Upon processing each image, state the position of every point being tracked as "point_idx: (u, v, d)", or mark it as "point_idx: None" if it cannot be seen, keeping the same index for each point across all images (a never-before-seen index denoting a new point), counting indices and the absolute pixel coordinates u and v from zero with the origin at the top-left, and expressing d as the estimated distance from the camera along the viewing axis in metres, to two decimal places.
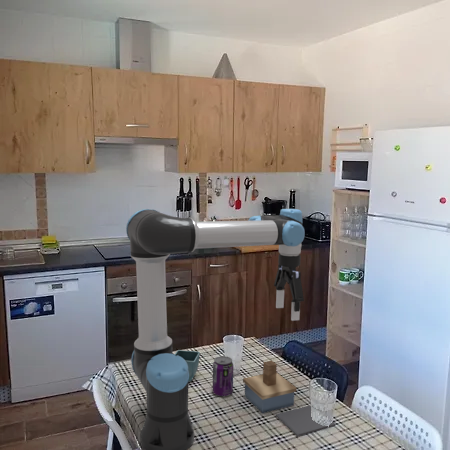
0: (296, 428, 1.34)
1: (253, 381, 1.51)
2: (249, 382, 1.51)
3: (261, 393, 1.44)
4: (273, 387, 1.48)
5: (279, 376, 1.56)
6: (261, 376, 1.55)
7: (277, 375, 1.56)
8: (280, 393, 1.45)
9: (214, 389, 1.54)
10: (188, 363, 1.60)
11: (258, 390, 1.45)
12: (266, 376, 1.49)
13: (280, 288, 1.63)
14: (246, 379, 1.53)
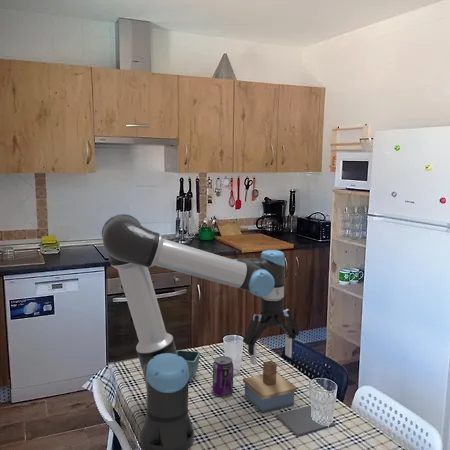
0: (296, 428, 1.34)
1: (253, 381, 1.51)
2: (249, 382, 1.51)
3: (261, 393, 1.44)
4: (273, 387, 1.48)
5: (279, 376, 1.56)
6: (261, 376, 1.55)
7: (277, 375, 1.56)
8: (280, 393, 1.45)
9: (214, 389, 1.54)
10: (188, 363, 1.60)
11: (258, 390, 1.45)
12: (266, 376, 1.49)
13: (289, 335, 1.52)
14: (246, 379, 1.53)
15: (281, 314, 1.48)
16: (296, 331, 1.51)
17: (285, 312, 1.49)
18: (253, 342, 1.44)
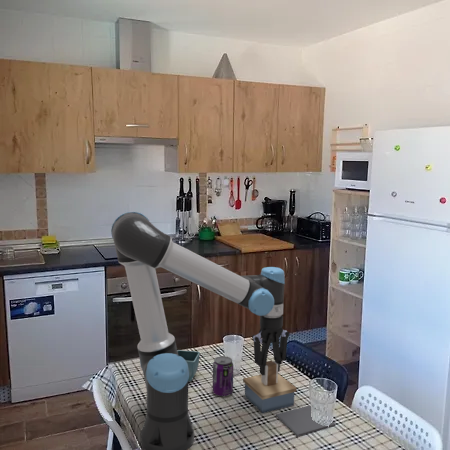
0: (296, 428, 1.34)
1: (253, 381, 1.51)
2: (249, 382, 1.51)
3: (261, 393, 1.44)
4: (273, 387, 1.48)
5: (279, 376, 1.56)
6: None
7: None
8: (280, 393, 1.45)
9: (214, 389, 1.54)
10: (188, 363, 1.60)
11: (258, 390, 1.45)
12: None
13: (276, 361, 1.50)
14: (246, 379, 1.53)
15: (280, 331, 1.49)
16: (284, 356, 1.50)
17: (284, 332, 1.50)
18: (264, 363, 1.47)
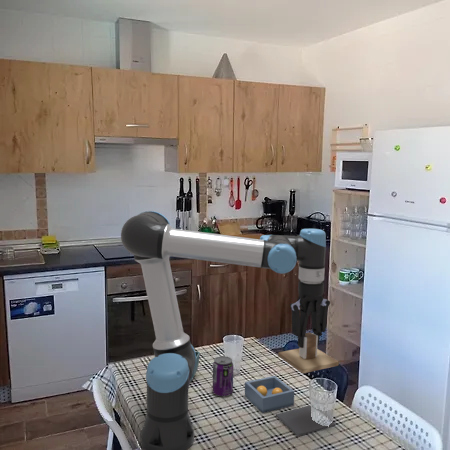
0: (296, 428, 1.34)
1: (290, 355, 1.38)
2: (286, 356, 1.37)
3: (301, 366, 1.30)
4: (313, 361, 1.34)
5: (317, 350, 1.42)
6: (298, 350, 1.42)
7: None
8: (321, 367, 1.31)
9: (214, 389, 1.54)
10: None
11: (297, 364, 1.32)
12: None
13: (315, 332, 1.37)
14: (282, 353, 1.39)
15: (320, 299, 1.35)
16: (324, 327, 1.37)
17: (324, 300, 1.36)
18: (303, 334, 1.34)
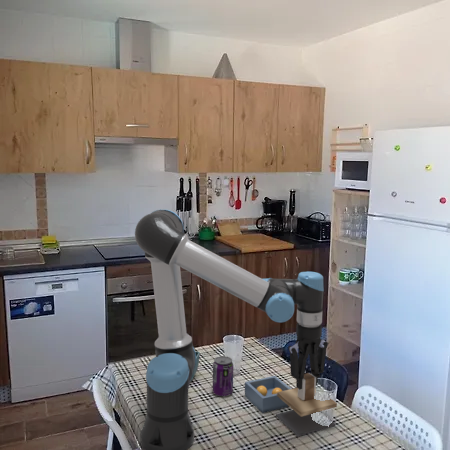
0: (296, 428, 1.34)
1: (288, 395, 1.40)
2: (284, 397, 1.39)
3: (299, 409, 1.32)
4: (312, 402, 1.36)
5: None
6: (296, 390, 1.43)
7: None
8: (320, 409, 1.33)
9: (214, 389, 1.54)
10: None
11: (295, 406, 1.34)
12: None
13: (313, 373, 1.39)
14: (281, 393, 1.41)
15: (318, 341, 1.37)
16: (322, 368, 1.38)
17: (322, 342, 1.38)
18: (301, 376, 1.35)
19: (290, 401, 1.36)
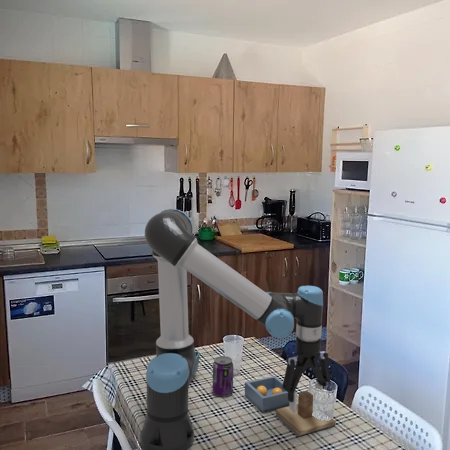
0: None
1: (287, 413, 1.40)
2: (283, 414, 1.40)
3: (298, 428, 1.32)
4: (310, 420, 1.37)
5: None
6: None
7: None
8: (318, 427, 1.34)
9: (214, 389, 1.54)
10: None
11: (294, 424, 1.34)
12: (302, 408, 1.38)
13: (320, 382, 1.40)
14: (279, 410, 1.42)
15: (318, 355, 1.37)
16: (328, 377, 1.40)
17: (321, 354, 1.39)
18: (293, 389, 1.35)
19: (289, 419, 1.37)
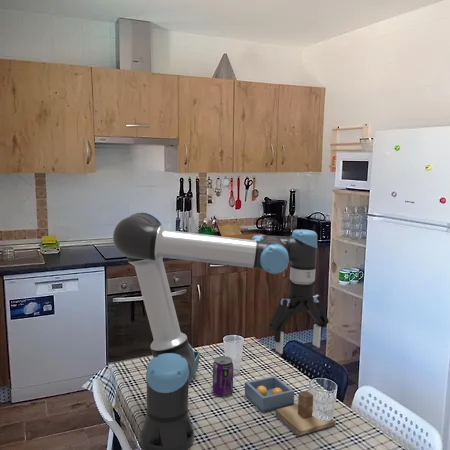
0: None
1: (287, 413, 1.40)
2: (283, 414, 1.40)
3: (298, 428, 1.32)
4: (310, 420, 1.37)
5: None
6: (295, 407, 1.44)
7: None
8: (318, 427, 1.34)
9: (214, 389, 1.54)
10: None
11: (294, 424, 1.34)
12: (302, 408, 1.38)
13: (318, 324, 1.40)
14: (279, 410, 1.42)
15: (311, 300, 1.36)
16: (326, 319, 1.40)
17: (315, 298, 1.38)
18: (280, 328, 1.33)
19: (289, 419, 1.37)
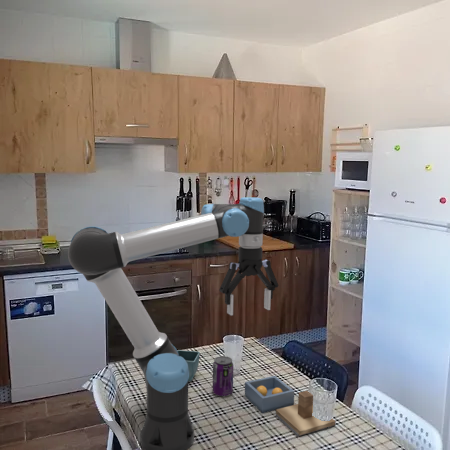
0: None
1: (287, 413, 1.40)
2: (283, 414, 1.40)
3: (298, 428, 1.32)
4: (310, 420, 1.37)
5: None
6: (295, 407, 1.44)
7: None
8: (318, 427, 1.34)
9: (214, 389, 1.54)
10: (188, 363, 1.60)
11: (294, 424, 1.34)
12: (302, 408, 1.38)
13: (268, 287, 1.47)
14: (279, 410, 1.42)
15: (260, 264, 1.43)
16: (275, 283, 1.46)
17: (264, 262, 1.44)
18: (230, 291, 1.39)
19: (289, 419, 1.37)
